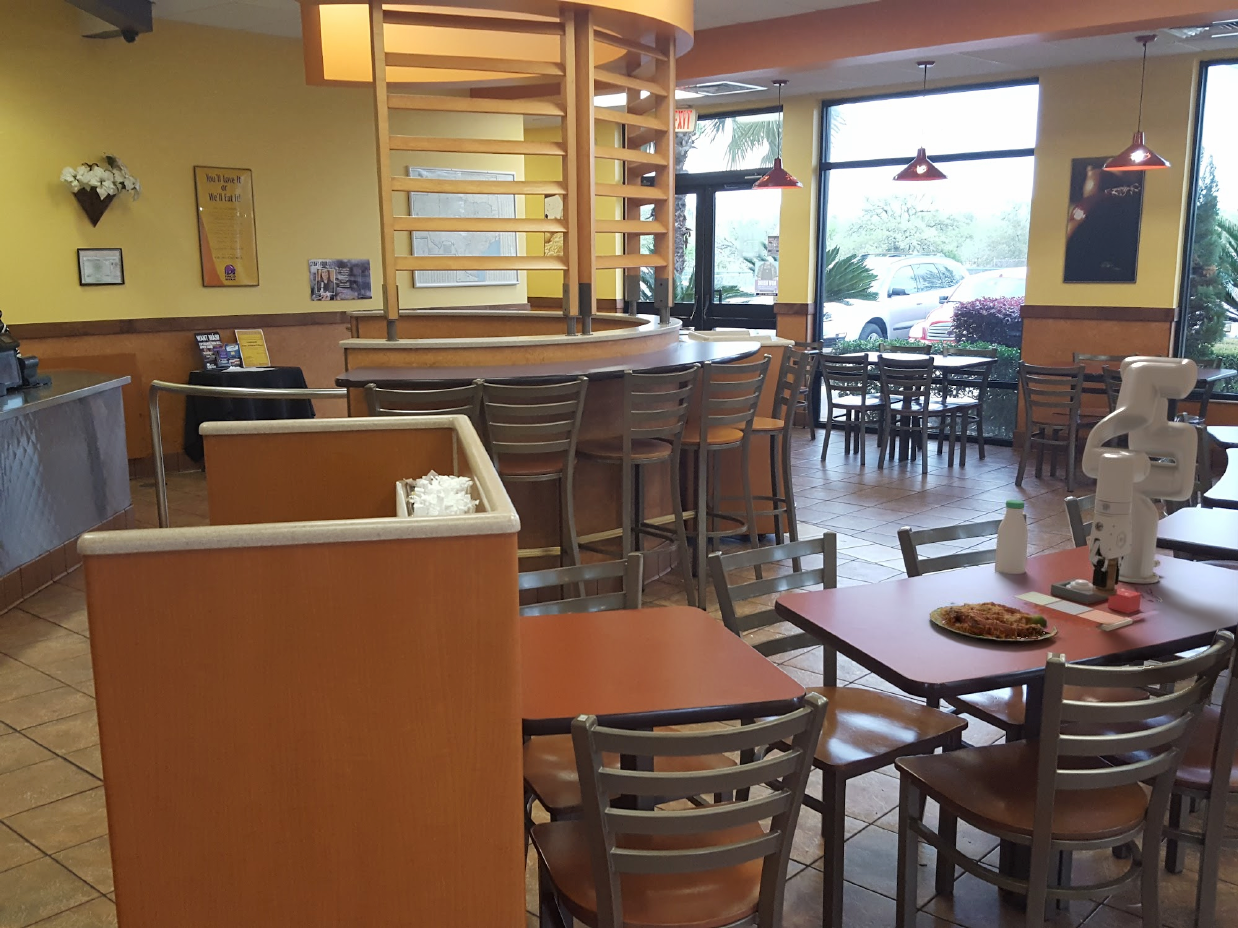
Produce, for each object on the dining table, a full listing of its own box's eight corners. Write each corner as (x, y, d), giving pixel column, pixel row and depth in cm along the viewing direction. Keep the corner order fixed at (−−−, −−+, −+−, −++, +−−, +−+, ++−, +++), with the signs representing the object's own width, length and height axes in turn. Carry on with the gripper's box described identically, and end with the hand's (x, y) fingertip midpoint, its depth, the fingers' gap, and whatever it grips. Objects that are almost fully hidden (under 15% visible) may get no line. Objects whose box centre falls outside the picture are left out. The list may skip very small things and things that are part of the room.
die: (1119, 608, 257) (1121, 587, 256) (1138, 613, 253) (1141, 592, 252) (1107, 611, 254) (1109, 590, 253) (1127, 617, 250) (1129, 595, 249)
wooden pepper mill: (1100, 588, 249) (1104, 543, 247) (1121, 593, 245) (1125, 548, 243) (1087, 591, 246) (1091, 546, 244) (1108, 597, 242) (1113, 551, 240)
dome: (1076, 586, 268) (1077, 575, 267) (1102, 594, 262) (1103, 582, 261) (1059, 591, 264) (1060, 580, 263) (1085, 598, 258) (1086, 587, 257)
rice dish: (952, 606, 262) (953, 584, 261) (1071, 623, 246) (1072, 601, 245) (911, 636, 240) (911, 613, 239) (1038, 658, 223) (1039, 633, 223)
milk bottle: (1029, 577, 282) (1035, 504, 278) (999, 577, 282) (1005, 504, 278) (1018, 569, 289) (1024, 498, 285) (990, 569, 289) (996, 497, 286)
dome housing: (1073, 591, 270) (1075, 578, 269) (1110, 601, 262) (1111, 588, 261) (1050, 597, 264) (1051, 584, 264) (1087, 608, 256) (1088, 594, 256)
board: (1033, 594, 267) (1033, 590, 267) (1132, 623, 246) (1132, 618, 246) (1008, 600, 262) (1009, 596, 261) (1107, 630, 240) (1107, 626, 240)
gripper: (1107, 514, 234) (1099, 594, 237) (1148, 506, 243) (1140, 583, 247) (1076, 508, 240) (1069, 586, 243) (1118, 500, 250) (1110, 575, 253)
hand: (1105, 584), depth 245 cm, fingers closed on wooden pepper mill, 4 cm apart
